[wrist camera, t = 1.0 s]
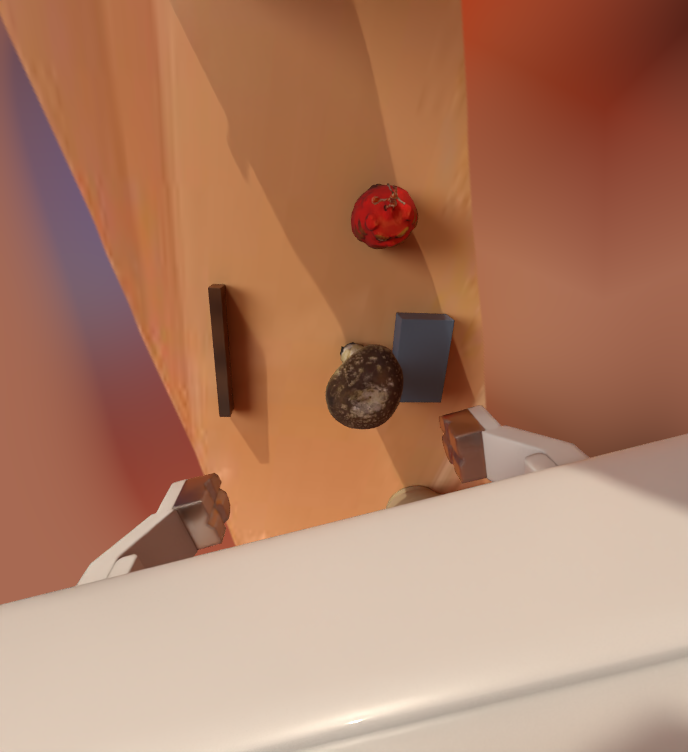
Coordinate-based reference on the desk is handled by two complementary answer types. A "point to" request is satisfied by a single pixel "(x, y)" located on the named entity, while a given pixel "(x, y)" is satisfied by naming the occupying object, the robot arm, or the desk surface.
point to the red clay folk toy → (383, 216)
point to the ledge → (221, 348)
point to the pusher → (422, 354)
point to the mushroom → (365, 386)
